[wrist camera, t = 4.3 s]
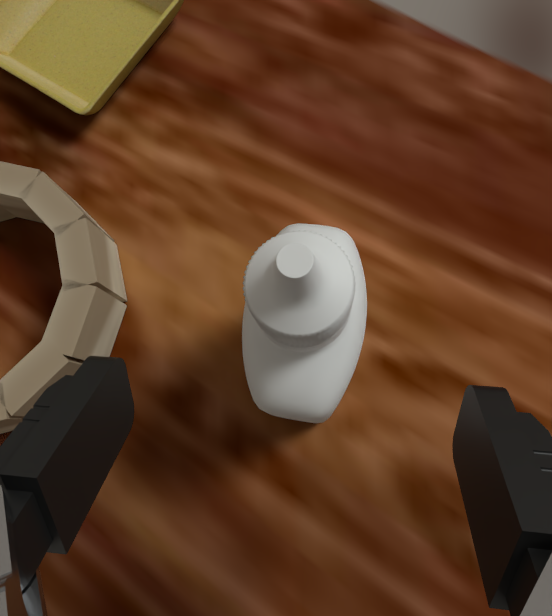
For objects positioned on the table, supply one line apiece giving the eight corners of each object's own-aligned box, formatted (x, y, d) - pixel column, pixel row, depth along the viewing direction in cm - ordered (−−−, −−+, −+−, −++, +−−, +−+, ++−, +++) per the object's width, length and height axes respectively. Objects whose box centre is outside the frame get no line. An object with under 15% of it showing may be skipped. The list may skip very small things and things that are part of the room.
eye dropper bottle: (229, 375, 21) (110, 310, 9) (309, 274, 21) (293, 93, 10) (311, 441, 20) (296, 462, 8) (392, 332, 20) (483, 208, 9)
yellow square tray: (-17, 69, 26) (-45, 39, 24) (82, -43, 28) (63, -80, 26) (102, 142, 24) (82, 117, 22) (202, 19, 26) (192, -16, 24)
